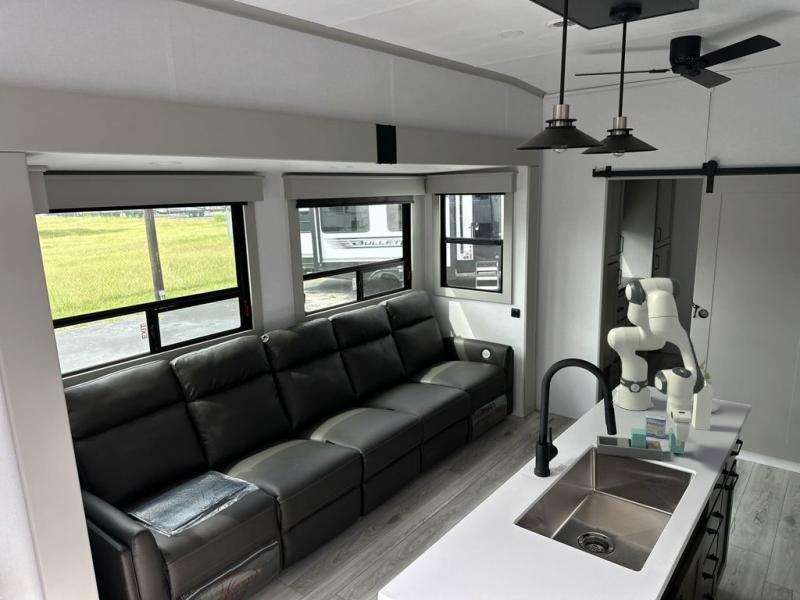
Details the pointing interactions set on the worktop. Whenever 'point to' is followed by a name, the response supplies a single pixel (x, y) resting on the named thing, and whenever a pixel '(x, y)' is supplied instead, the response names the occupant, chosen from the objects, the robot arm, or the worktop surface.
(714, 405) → the flower in vase
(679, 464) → the worktop surface
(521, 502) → the worktop surface
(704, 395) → the milk
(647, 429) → the medicine box
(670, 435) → the teal rectangular block
